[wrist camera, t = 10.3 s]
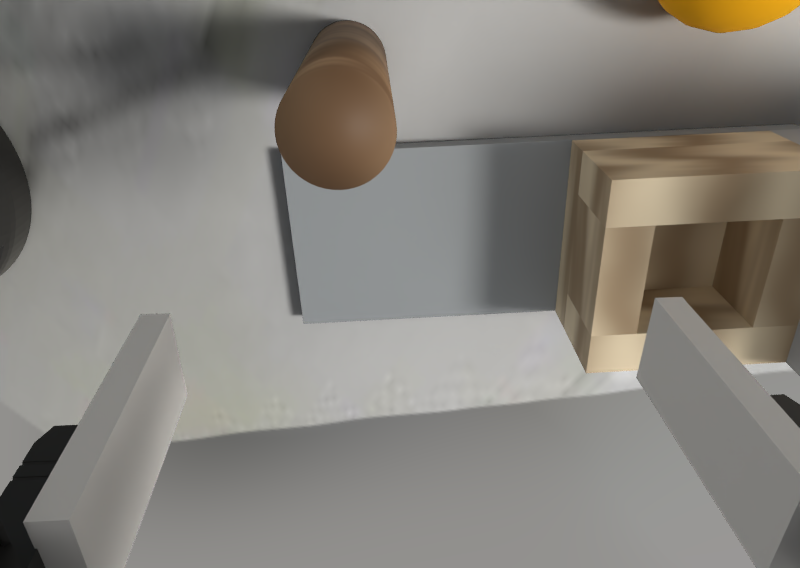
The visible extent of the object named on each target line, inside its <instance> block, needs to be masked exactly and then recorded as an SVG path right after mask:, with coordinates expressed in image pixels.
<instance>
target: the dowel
mask: <svg viewBox="0 0 800 568" xmlns="http://www.w3.org/2000/svg"><path fill="white" fill-rule="evenodd" d="M275 137H276V142H277V145H278V148H279V151H280V153H281V155H282V157H283V159H284V160H285V162H286V163H287V165H288V166H289V167H290V168H291V170H292V171H293V172H295V173H296V174H297V175H298V176H299V177H300V178H302V179H303V180H305V181H307V182H308V183H310V184H312V185H315V186H317V187H321V188H324V189H330V190H346V189H351V188H356V187H358V186H361V185H363V184H365V183H367V182H369V181H371V180H372V179H373V178H375V177H376V176H377V175H378V174H379V173H380V172H381V171H382V170H383V169H384V168H385V166H386V165H387V163H388V162H389V160H390V158H391V156H392V154H393V151H394V148H395V144H396V138H397V127H396V118H395V112H394V106H393V99H392V93H391V86H390V80H389V73H388V67H387V61H386V54H385V50H384V47H383V44H382V43H381V41H380V39H379V38H378V36H377V35H376V34H375V33H374V31H372V30H371V29H370V28H369V27H367V26H366V25H364V24H361V23H359V22H356V21H348V20H345V21H338V22H335V23H332V24H330V25H328V26H327V27H325V28H324V29H323V30H322V31H321V32H320V33H319V34H318V36H317V37H316V38H315V40H314V42H313V44H312V46H311V47H310V49H309V51H308V53H307V55H306V56H305V58H304V60H303V62H302V64H301V65H300V67H299V69H298V71H297V73H296V74H295V76H294V78H293V80H292V82H291V83H290V85H289V87H288V89H287V91H286V92H285V94H284V96H283V98H282V100H281V102H280V104H279V107H278V109H277V113H276V118H275Z"/></svg>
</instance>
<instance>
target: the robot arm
mask: <svg viewBox="0 0 800 568" xmlns="http://www.w3.org/2000/svg"><path fill="white" fill-rule="evenodd" d="M30 223H31V197H30V190H29V186H28V181H27V178H26V175H25V171H24V169H23V166H22V164H21V161H20V159H19V157H18V155H17V152H16V151H15V149H14V147H13V145H12V143H11V141H10V140H9V138H8V137H7V135H6V133H5V132H4V131H3V129H2V128H1V126H0V276H1V275H2V274H3V273H4V272H5V271H6V270H7V269H8V268H10V266H11V265H12V264H13V263H14V262H15V260H16V259H17V258H18V256H19V255H20V253H21V251H22V249H23V247H24V245H25V243H26V240H27V237H28V233H29V229H30ZM636 378H637V379H638V381H639V383H640V384H641V386H642V387H643V389H644V390H645V392H646V394H647V395H648V397H649V398H650V400H651V402H652V403H653V405H654V406H655V408H656V409H657V411H658V413H659V414H660V416H661V417H662V419H663V421H664V422H665V424H666V425H667V427H668V429H669V430H670V432H671V433H672V435H673V437H674V438H675V440H676V441H677V443H678V444H679V446H680V447H681V449H682V451H683V452H684V454H685V455H686V457H687V459H688V460H689V462H690V464H691V465H692V466H693V468H694V470H695V471H696V473H697V475H698V476H699V477H700V479H701V481H702V483H703V484H704V486H705V487H706V489H707V490H708V492H709V494H710V495H711V497H712V499H713V500H714V502H715V503H716V505H717V506H718V508H719V510H720V511H721V513H722V514H723V516H724V518H725V519H726V521H727V522H728V524H729V526H730V527H731V529H732V530H733V531H734V533H735V535H736V537H737V538H738V540H739V541H740V543H741V545H742V546H743V547H744V549H745V551H746V553H747V554H748V556H749V557H750V559H751V560H752V562H753V564H754V565H755V567H756V568H800V404H798V403H797V402H795V401H793V400H792V399H790V398H789V397H787V396H785V395H784V394H782V395H769V394H768V392H767V391H766V390H765V389H764V388H763V387H762V386H761V385H760V384H759V382H758V381H757V380H756V379H755V378H754V377H753V376H752V374H751V373H750V372H749V371H748V370H747V369H746V368H745V367H744V366H743V364H742V363H741V362H740V361H739V360H738V359H737V358H736V357H735V355H734V354H733V353H732V352H731V351H730V350H729V349H728V348H727V347H726V345H725V344H724V343H723V342H722V341H721V340H720V339H719V338H718V336H717V335H716V334H715V333H714V332H713V331H712V330H711V329H710V328H709V326H708V325H707V324H706V323H705V322H704V321H703V320H702V319H701V317H700V316H699V315H698V314H697V313H696V312H695V311H694V310H693V309H692V307H691V306H690V305H689V304H688V303H687V302H686V301H685V300H684V298H683V297H665V298H655V300H654V305H653V309H652V313H651V317H650V322H649V326H648V330H647V334H646V339H645V343H644V347H643V351H642V356H641V360H640V364H639V368H638V373H637V377H636ZM187 396H188V394H187V389H186V385H185V380H184V375H183V371H182V366H181V361H180V357H179V352H178V348H177V343H176V338H175V334H174V329H173V324H172V320H171V315H170V314H141V315H140V316H139V318H138V320H137V322H136V323H135V325H134V327H133V329H132V331H131V332H130V334H129V336H128V338H127V339H126V341H125V343H124V345H123V346H122V348H121V350H120V352H119V354H118V355H117V357H116V359H115V361H114V362H113V364H112V366H111V368H110V369H109V371H108V373H107V375H106V376H105V378H104V380H103V382H102V384H101V385H100V387H99V389H98V391H97V392H96V394H95V396H94V398H93V399H92V401H91V403H90V405H89V406H88V408H87V410H86V412H85V414H84V415H83V417H82V419H81V421H80V422H79V424H78V425H65V426H54V427H52V428H51V429H50V430H49V431H48V432H47V433H45V434H44V435H43V436H42V437H41V438H40V439H38V440H37V441H36V442H35V443H34V444H33V446H32V448H31V449H30V451H29V452H28V454H27V455H26V457H25V459H24V460H23V464H22V465H21V466H19V468H18V470H17V471H16V473H15V474H14V476H13V480H12V481H10V482H9V484H8V486H7V487H6V489H5V490H4V492H3V493H2V495H1V496H0V568H125V566H126V563H127V560H128V557H129V555H130V552H131V549H132V546H133V544H134V541H135V538H136V536H137V533H138V530H139V527H140V525H141V522H142V519H143V516H144V514H145V511H146V508H147V505H148V503H149V500H150V497H151V494H152V492H153V489H154V486H155V483H156V481H157V478H158V475H159V473H160V470H161V467H162V464H163V462H164V459H165V456H166V453H167V451H168V448H169V445H170V442H171V440H172V437H173V434H174V431H175V429H176V426H177V423H178V421H179V418H180V415H181V412H182V410H183V407H184V404H185V401H186V399H187Z"/></svg>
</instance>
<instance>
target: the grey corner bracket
mask: <svg viewBox="0 0 800 568" xmlns="http://www.w3.org/2000/svg"><path fill="white" fill-rule="evenodd" d="M752 131H772V132H774V133H776V134H778V135H780V136H782V137H784V138H786V139H788V140H790V141H793V142H795V143H797V144H799V145H800V126H798V125H795V124H784V125H764V126H743V127H723V128H702V129H681V130H661V131H640V132H620V133H599V134H578V135H558V136H537V137H517V138H496V139H476V140H455V141H434V142H414V143H396V144H395V148H394V151H393V154H392V156H391V158H390V160H389V162H388V163H387V165H386V166H385V168H384V169H383V170H382V171H381V172H380V173H379V174H378V175H377V176H376V177H375V178H373V179H372V180H371V181H369V182H367V183H365V184H363V185H361V186H358V187H356V188H351V189H346V190H330V189H324V188H321V187H317V186H315V185H312V184H310V183H308V182H307V181H305V180H303V179H302V178H300V177H299V176H298V175H297V174H296V173H295V172H293V171H292V170H291V168H290V167H289V166H288V165H287V163H286V162H285V160H284V159H283V157H282V155H281V159H282V167H283V174H284V182H285V189H286V196H287V204H288V211H289V219H290V226H291V234H292V241H293V249H294V256H295V263H296V271H297V278H298V286H299V293H300V301H301V308H302V316H303V323H304V324H309V323H328V322H347V321H366V320H384V319H403V318H422V317H441V316H460V315H478V314H497V313H516V312H535V311H554V310H555V309H556V299H557V289H558V279H559V268H560V258H561V248H562V238H563V228H564V217H565V207H566V197H567V187H568V177H569V166H570V156H571V146H572V140H588V139H609V138H629V137H650V136H670V135H691V134H711V133H732V132H752ZM786 363H787V364H788V365H789V366H790V367H791V368H792V369H793V370H794V371H795V372H796V373H797V374H798V375H799V376H800V320H799V323H798V326H797V329H796V332H795V336H794V339H793V342H792V345H791V348H790V351H789V354H788V357H787V360H786Z"/></svg>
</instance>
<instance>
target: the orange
mask: <svg viewBox="0 0 800 568" xmlns="http://www.w3.org/2000/svg"><path fill="white" fill-rule="evenodd" d="M658 1H659V2H660V4H661V5H662V7H663V8H664V9H665V11H666V12H668V13H669V14H671V15H672V16H674V17H675V18H677V19H678V20H680V21H681V22H682V23H684V24H685V25H688V26H691V27H695V28H699V29H703V30H707V31H711V32H715V33H725V32H733V31H740V30H748V29H753V28H757V27H760V26H762V25H764V24H767V23H769V22H771V21H774V20H776V19H779V18H781V17H783V16H785V15H787V14H789V13H790V12H791V11H793V10H794V9H795V8H797V7H798V6H799V5H800V0H658Z"/></svg>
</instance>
